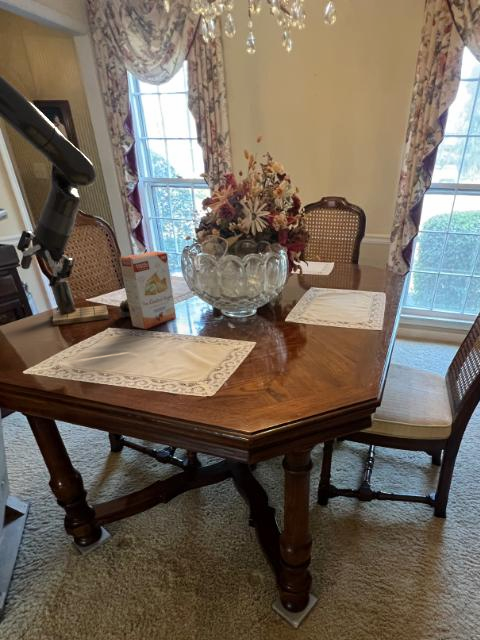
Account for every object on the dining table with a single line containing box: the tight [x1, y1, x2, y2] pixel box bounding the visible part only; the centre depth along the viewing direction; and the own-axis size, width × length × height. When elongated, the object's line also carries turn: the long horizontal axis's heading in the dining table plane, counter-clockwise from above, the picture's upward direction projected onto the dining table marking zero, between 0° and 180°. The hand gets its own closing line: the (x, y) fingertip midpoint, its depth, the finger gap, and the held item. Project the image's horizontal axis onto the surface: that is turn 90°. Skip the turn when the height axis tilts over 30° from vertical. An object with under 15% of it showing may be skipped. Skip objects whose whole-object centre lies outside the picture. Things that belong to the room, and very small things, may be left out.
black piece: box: [51, 278, 76, 313], centre depth 125 cm, size 5×5×10 cm
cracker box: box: [118, 251, 177, 330], centre depth 117 cm, size 14×6×21 cm, turn 155°
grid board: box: [52, 304, 110, 326], centre depth 127 cm, size 16×12×2 cm
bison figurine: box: [118, 298, 131, 318], centre depth 125 cm, size 12×7×10 cm, turn 76°
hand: (38, 277), depth 108 cm, fingers open, 8 cm apart
